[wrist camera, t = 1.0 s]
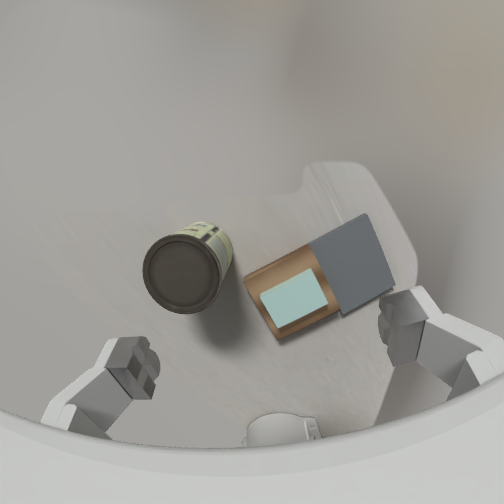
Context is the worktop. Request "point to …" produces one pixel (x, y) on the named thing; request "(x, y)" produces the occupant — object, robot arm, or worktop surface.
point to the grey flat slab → (353, 263)
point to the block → (293, 298)
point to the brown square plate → (284, 271)
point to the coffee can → (188, 267)
